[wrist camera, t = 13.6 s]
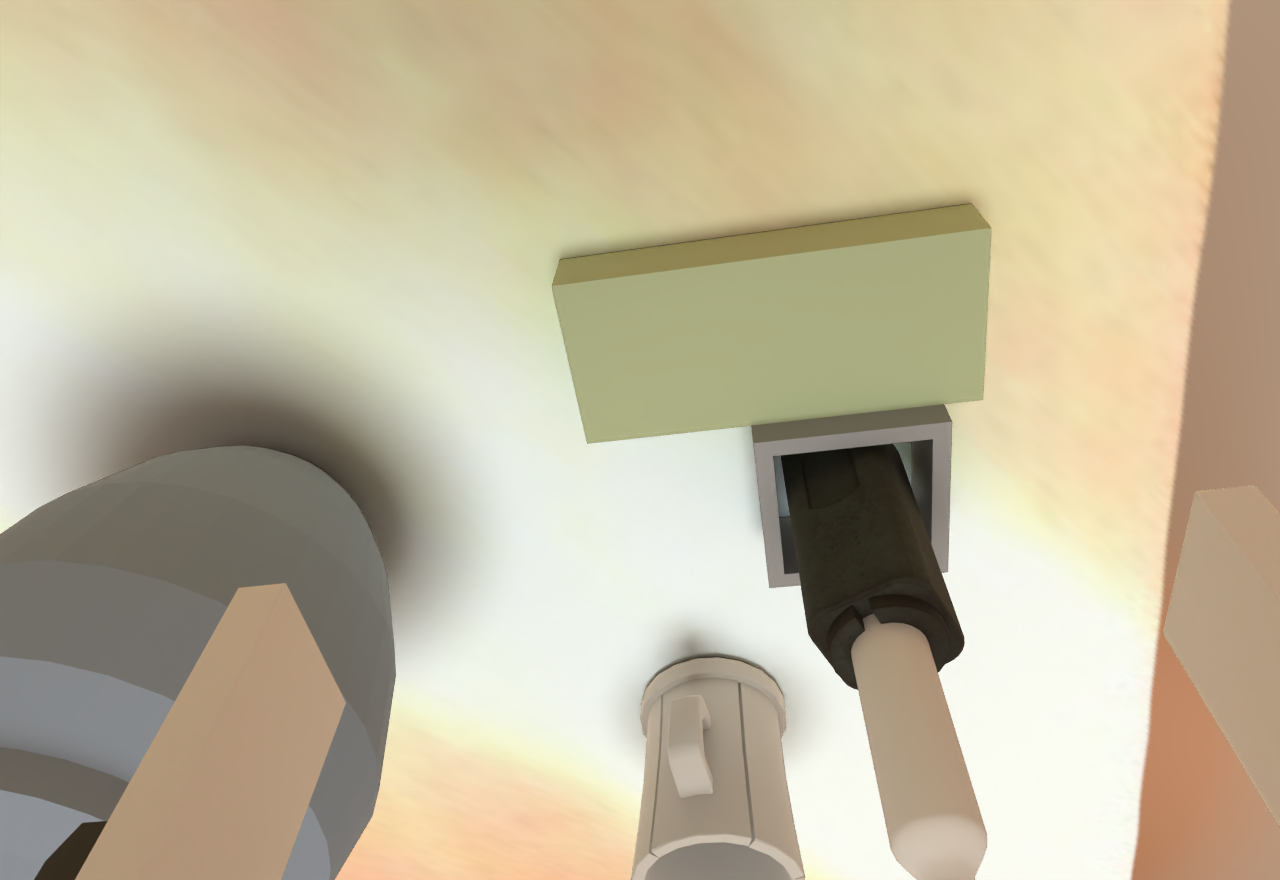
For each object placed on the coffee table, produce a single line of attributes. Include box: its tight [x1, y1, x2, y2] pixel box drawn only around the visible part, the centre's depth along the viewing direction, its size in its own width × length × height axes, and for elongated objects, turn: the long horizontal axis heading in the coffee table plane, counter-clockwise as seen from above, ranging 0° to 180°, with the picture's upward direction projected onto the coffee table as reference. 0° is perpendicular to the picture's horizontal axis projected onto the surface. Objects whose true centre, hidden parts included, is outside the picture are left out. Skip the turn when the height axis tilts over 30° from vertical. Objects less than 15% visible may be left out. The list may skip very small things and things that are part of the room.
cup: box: [631, 657, 805, 880], centre depth 51 cm, size 10×9×12 cm
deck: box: [552, 204, 991, 588], centre depth 43 cm, size 18×17×4 cm
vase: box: [0, 445, 396, 880], centre depth 40 cm, size 20×20×24 cm
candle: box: [781, 443, 987, 880], centre depth 36 cm, size 5×5×25 cm
